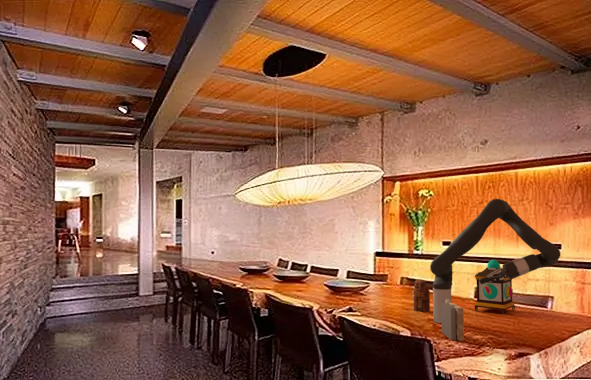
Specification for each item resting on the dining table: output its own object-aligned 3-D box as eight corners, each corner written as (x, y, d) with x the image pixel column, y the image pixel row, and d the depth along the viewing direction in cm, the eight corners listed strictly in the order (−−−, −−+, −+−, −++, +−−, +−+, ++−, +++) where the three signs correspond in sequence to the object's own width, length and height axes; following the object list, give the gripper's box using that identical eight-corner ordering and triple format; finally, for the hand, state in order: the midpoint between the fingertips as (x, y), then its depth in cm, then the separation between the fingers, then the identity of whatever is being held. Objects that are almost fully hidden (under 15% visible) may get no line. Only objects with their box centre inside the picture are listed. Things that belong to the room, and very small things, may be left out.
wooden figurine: (409, 309, 281) (409, 278, 282) (417, 308, 284) (416, 278, 286) (425, 312, 271) (424, 281, 272) (432, 311, 275) (432, 280, 276)
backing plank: (440, 331, 226) (439, 299, 227) (450, 331, 226) (449, 299, 226) (451, 340, 209) (450, 305, 210) (462, 340, 209) (461, 305, 210)
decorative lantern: (518, 310, 277) (516, 259, 279) (507, 315, 263) (505, 261, 265) (483, 306, 291) (482, 257, 293) (471, 311, 276) (470, 259, 278)
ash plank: (447, 332, 222) (447, 302, 223) (452, 332, 222) (451, 302, 223) (459, 340, 206) (458, 308, 207) (463, 340, 206) (463, 308, 207)
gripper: (507, 257, 224) (472, 271, 226) (518, 264, 211) (481, 278, 212) (513, 272, 224) (478, 285, 226) (524, 279, 211) (487, 293, 213)
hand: (479, 282), depth 219 cm, fingers closed
